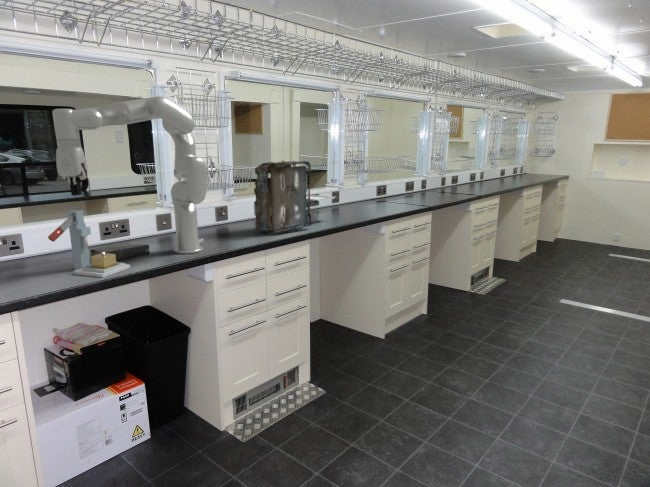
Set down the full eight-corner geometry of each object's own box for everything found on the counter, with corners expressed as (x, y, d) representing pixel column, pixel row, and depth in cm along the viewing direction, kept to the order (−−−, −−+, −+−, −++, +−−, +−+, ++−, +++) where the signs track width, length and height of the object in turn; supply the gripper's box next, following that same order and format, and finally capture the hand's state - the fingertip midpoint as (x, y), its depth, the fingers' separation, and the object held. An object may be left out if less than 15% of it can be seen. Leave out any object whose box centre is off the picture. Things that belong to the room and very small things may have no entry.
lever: (77, 216, 176) (73, 211, 174) (82, 216, 175) (78, 211, 173) (50, 241, 165) (46, 235, 164) (55, 241, 165) (51, 236, 163)
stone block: (150, 255, 200) (149, 243, 199) (105, 264, 185) (104, 252, 184) (134, 250, 209) (133, 240, 207) (90, 259, 194) (89, 247, 193)
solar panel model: (335, 220, 280) (335, 196, 276) (318, 225, 266) (317, 199, 263) (300, 216, 296) (300, 193, 293) (283, 220, 283) (282, 196, 279)
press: (92, 263, 185) (85, 207, 180) (130, 267, 179) (124, 210, 174) (63, 272, 172) (55, 213, 167) (102, 277, 166) (95, 215, 161)
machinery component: (264, 237, 232) (261, 163, 223) (244, 232, 245) (241, 161, 237) (312, 229, 253) (311, 161, 245) (291, 224, 267) (290, 160, 258)
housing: (104, 265, 178) (102, 249, 177) (116, 266, 176) (114, 251, 175) (92, 269, 173) (90, 253, 171) (104, 270, 171) (102, 254, 169)
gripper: (44, 144, 162) (52, 195, 167) (76, 144, 157) (83, 197, 162) (62, 144, 169) (70, 193, 173) (93, 143, 164) (100, 194, 169)
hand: (76, 194), depth 168 cm, fingers closed
